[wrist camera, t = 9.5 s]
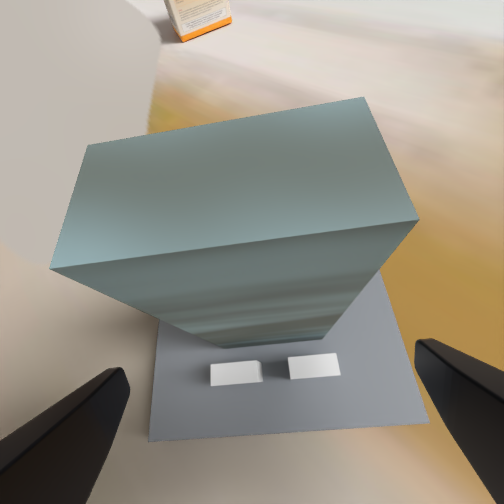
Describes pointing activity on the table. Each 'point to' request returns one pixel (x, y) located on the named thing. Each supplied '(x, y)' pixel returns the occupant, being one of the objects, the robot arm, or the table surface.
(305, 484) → the table surface
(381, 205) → the tall streaky grey pillar
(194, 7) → the supplement box
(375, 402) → the base plate
